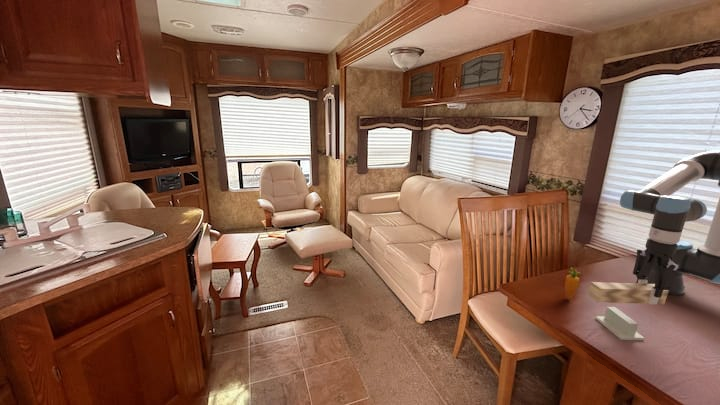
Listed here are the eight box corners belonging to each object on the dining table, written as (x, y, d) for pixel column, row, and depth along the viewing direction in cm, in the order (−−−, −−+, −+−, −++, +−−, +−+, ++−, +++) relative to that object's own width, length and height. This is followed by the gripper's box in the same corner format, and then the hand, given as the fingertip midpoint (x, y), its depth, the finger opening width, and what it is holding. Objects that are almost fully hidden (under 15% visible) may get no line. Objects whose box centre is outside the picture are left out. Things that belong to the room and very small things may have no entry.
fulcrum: (615, 318, 116) (619, 305, 114) (643, 340, 104) (647, 325, 103) (595, 318, 116) (598, 305, 114) (621, 339, 104) (625, 325, 103)
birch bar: (652, 297, 109) (656, 284, 107) (664, 304, 104) (668, 290, 103) (587, 295, 109) (591, 282, 108) (597, 302, 105) (600, 288, 103)
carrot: (577, 303, 126) (584, 272, 122) (564, 302, 127) (571, 270, 123) (571, 296, 130) (578, 266, 126) (559, 295, 131) (565, 265, 127)
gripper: (629, 231, 109) (615, 286, 115) (678, 250, 92) (658, 314, 98) (649, 231, 109) (634, 286, 115) (702, 250, 92) (680, 314, 98)
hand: (645, 299), depth 107 cm, fingers closed on birch bar, 4 cm apart
